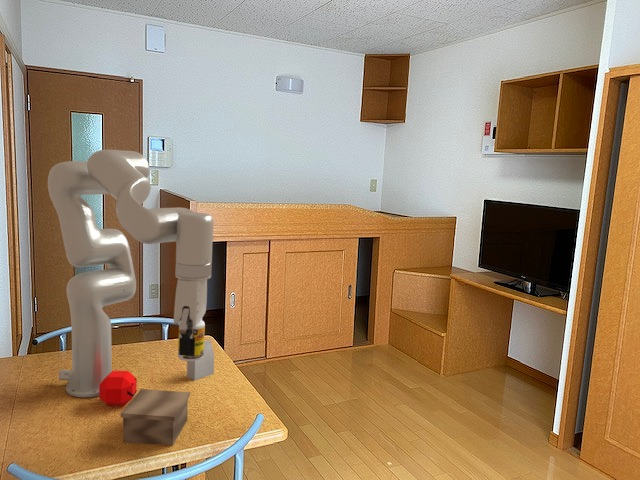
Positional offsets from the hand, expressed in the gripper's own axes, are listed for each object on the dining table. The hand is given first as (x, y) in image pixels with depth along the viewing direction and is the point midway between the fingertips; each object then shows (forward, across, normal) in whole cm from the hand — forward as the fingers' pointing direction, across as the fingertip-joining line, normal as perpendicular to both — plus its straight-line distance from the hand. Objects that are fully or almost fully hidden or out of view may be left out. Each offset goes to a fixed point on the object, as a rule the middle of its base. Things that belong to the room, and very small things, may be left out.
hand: (190, 348), depth 111 cm
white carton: (+22, -32, -5) cm, 39 cm away
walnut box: (+21, -1, -7) cm, 22 cm away
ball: (+22, -13, -21) cm, 33 cm away
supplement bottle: (+2, 0, 0) cm, 2 cm away
